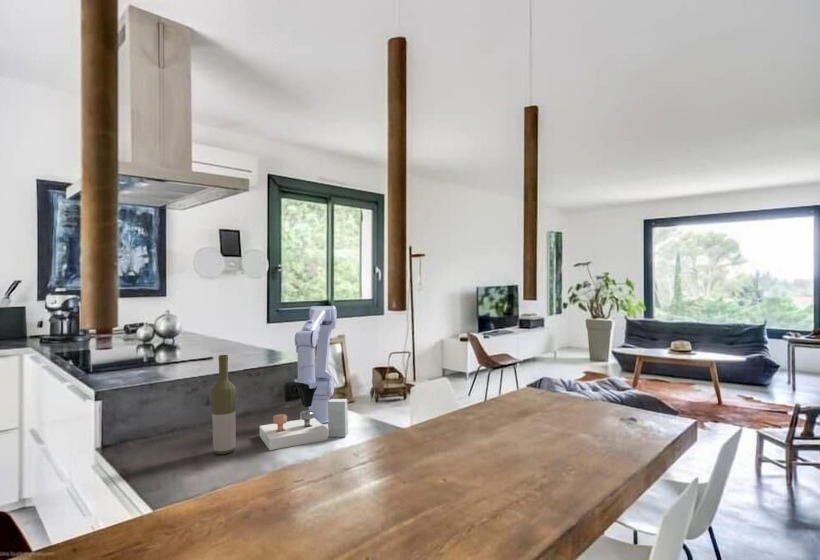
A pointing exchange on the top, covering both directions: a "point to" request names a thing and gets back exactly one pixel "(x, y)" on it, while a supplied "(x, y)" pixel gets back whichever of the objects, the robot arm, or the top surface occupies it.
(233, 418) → the bottle
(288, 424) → the panel
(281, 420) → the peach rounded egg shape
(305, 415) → the plug
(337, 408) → the skincare box
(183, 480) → the top surface
